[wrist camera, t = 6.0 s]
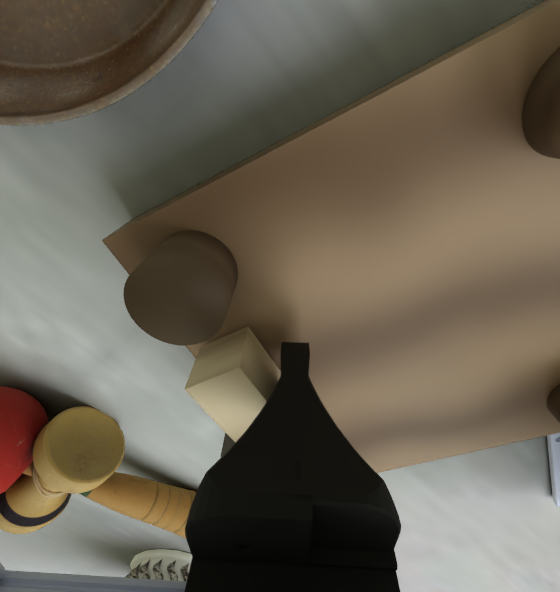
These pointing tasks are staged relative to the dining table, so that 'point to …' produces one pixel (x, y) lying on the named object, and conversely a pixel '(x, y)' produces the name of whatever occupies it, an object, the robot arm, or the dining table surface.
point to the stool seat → (389, 252)
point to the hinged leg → (233, 380)
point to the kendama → (73, 468)
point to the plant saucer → (86, 52)
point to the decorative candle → (161, 565)
